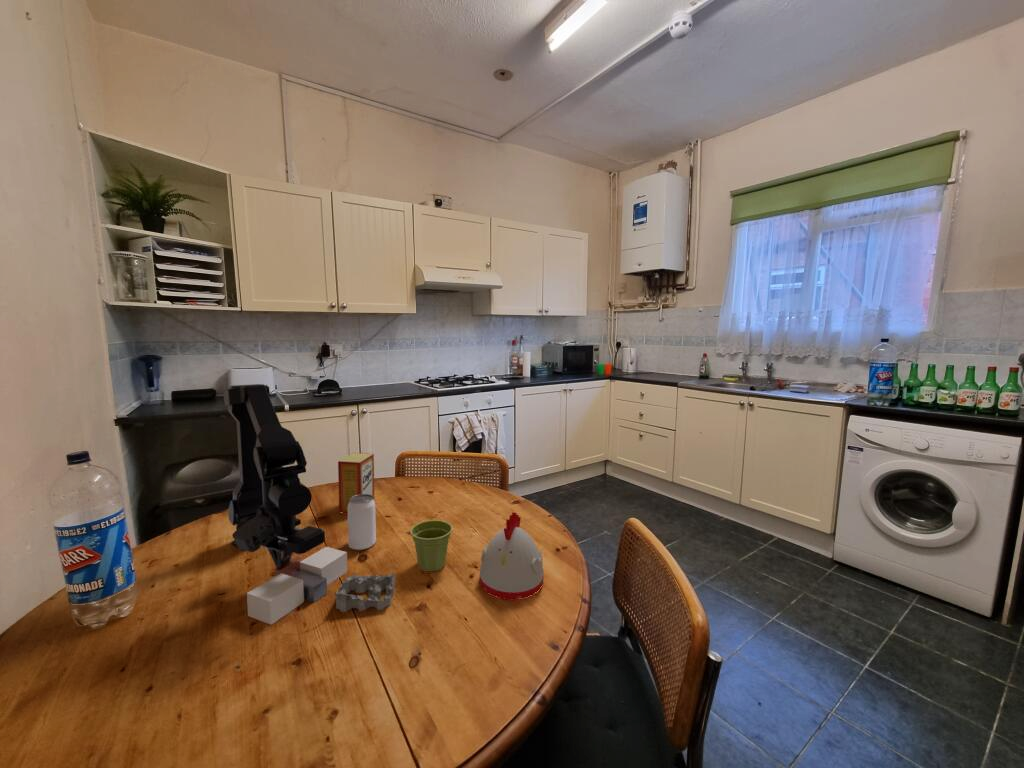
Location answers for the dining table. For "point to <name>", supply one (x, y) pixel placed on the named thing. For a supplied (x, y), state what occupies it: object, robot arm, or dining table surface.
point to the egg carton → (362, 585)
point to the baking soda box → (355, 477)
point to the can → (361, 522)
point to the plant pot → (431, 543)
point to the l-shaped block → (305, 579)
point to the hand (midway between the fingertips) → (281, 571)
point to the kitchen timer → (511, 563)
